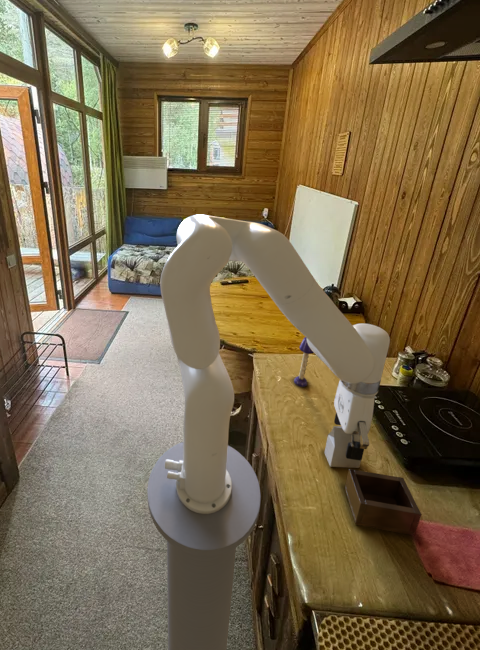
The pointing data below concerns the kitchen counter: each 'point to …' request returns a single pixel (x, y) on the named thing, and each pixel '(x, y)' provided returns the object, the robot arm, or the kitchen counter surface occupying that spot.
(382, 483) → the box
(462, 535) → the kitchen counter surface
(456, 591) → the kitchen counter surface
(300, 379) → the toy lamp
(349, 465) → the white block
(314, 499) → the kitchen counter surface
